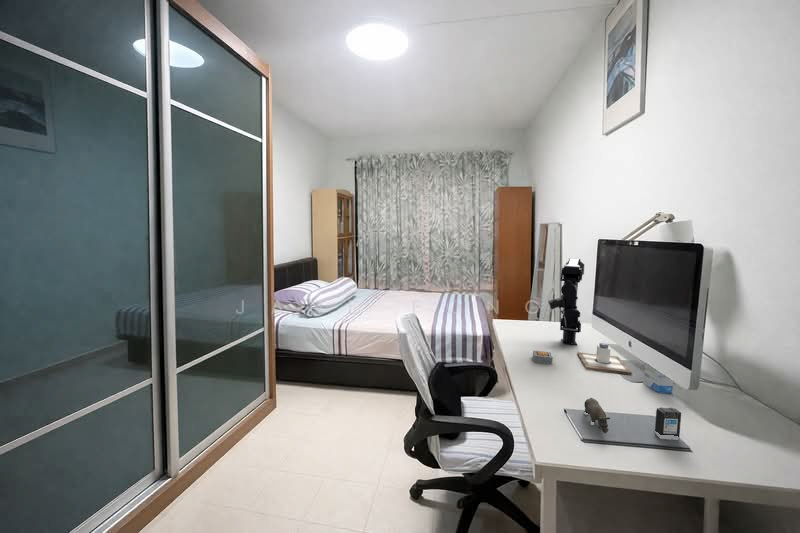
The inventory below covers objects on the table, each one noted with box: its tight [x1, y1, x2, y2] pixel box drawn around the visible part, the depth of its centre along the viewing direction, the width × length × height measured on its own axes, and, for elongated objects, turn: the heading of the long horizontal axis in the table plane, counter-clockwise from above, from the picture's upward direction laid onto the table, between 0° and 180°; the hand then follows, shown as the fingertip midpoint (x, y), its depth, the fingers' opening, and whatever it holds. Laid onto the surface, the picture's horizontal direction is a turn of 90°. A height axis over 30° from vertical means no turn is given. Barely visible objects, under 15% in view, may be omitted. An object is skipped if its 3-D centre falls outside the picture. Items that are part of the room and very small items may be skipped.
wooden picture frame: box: [577, 351, 633, 375], centre depth 146 cm, size 18×16×1 cm
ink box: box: [642, 362, 674, 394], centre depth 123 cm, size 9×5×12 cm, turn 179°
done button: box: [537, 350, 548, 356], centre depth 148 cm, size 4×4×3 cm
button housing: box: [532, 350, 553, 366], centre depth 148 cm, size 7×7×3 cm
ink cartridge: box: [654, 407, 682, 438], centre depth 93 cm, size 5×2×8 cm, turn 87°
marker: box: [595, 342, 611, 363], centre depth 145 cm, size 4×4×7 cm
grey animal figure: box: [583, 397, 611, 434], centre depth 99 cm, size 4×14×6 cm, turn 170°
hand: (567, 327), depth 156 cm, fingers closed
